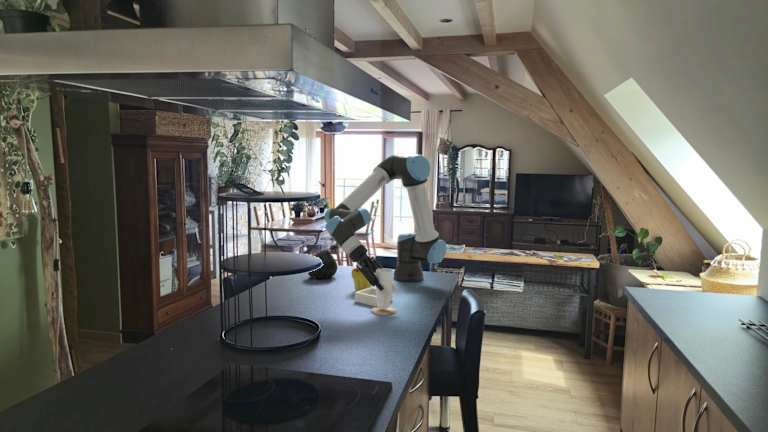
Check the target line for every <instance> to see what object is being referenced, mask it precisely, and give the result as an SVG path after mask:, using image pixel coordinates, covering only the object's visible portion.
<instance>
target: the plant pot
mask: <svg viewBox="0 0 768 432" xmlns="http://www.w3.org/2000/svg"><path fill="white" fill-rule="evenodd" d="M351 278H352V279H353V284H354V289H355V292H357V291H361V290H364V289H367V288H370V287H372V285H371V284H370V283H369V282H368V281H367V279H366V278H365V277H364V275H363V274H362V273H361V271H360V270H359V269H358V268H357V267H354V268H352V269H351Z"/></svg>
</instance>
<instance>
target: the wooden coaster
mask: <svg viewBox="0 0 768 432" xmlns="http://www.w3.org/2000/svg"><path fill="white" fill-rule="evenodd" d="M370 312H371V314H374V315H379V316H390V315H394V314H396V313H397V309H396V308H395V307H392V306H390V307H389V308H387V309H381V308H378V307H377V306H373V307H372V308H371V309H370Z"/></svg>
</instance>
